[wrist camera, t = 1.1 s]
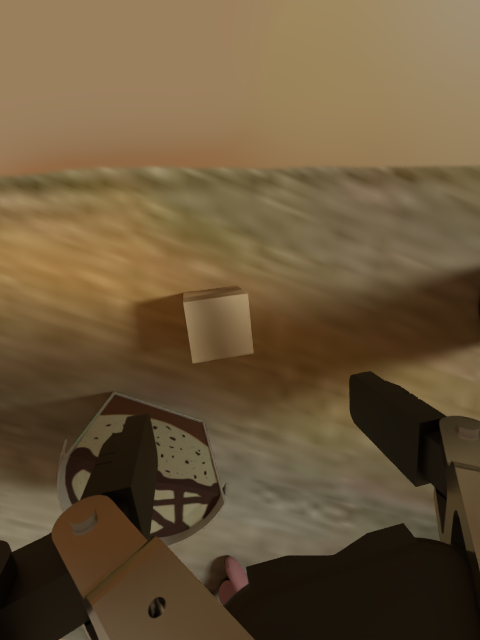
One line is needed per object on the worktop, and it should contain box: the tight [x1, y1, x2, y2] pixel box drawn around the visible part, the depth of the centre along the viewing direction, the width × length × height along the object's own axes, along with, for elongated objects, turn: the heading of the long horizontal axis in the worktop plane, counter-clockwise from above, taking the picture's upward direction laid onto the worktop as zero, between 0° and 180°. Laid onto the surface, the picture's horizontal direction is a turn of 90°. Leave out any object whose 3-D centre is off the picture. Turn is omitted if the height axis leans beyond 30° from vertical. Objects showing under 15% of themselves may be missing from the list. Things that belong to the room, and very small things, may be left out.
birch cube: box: [183, 286, 254, 363], centre depth 26 cm, size 5×5×5 cm
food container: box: [56, 391, 228, 547], centre depth 25 cm, size 12×6×10 cm, turn 64°
